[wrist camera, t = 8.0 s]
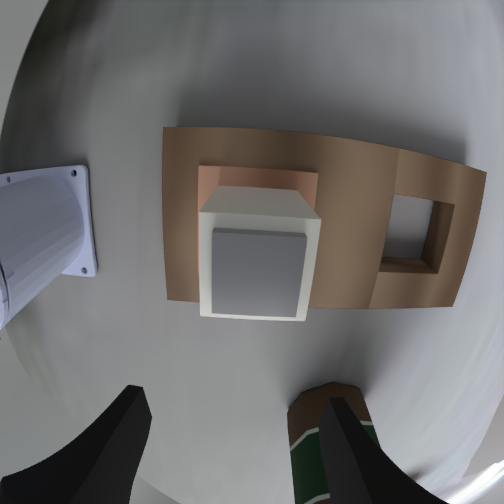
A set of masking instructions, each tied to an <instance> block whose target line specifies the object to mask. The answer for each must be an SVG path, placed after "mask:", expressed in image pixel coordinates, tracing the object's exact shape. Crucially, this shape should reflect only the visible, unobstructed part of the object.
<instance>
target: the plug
mask: <svg viewBox="0 0 504 504" xmlns="http://www.w3.org/2000/svg"><path fill="white" fill-rule="evenodd" d="M320 226H321V219H320V217H319V216H318V215H317V214H316V212H315V211H314V210H313V209H312V207H311V206H310V205H309V204H308V203H307V201H306V200H305V199H304V198H303V197H302V195H301V194H300V193H299V192H298V191H297V190H286V189H273V188H258V187H240V186H219V185H218V186H217V187H216V189H215V190H214V192H213V193H212V194H211V196H210V197H209V199H208V200H207V201H206V203H205V204H204V206H203V207H202V209H201V210H200V211H199V290H200V316H208V317H222V318H238V319H257V320H281V321H305V320H306V314H307V309H308V303H309V298H310V292H311V286H312V280H313V274H314V267H315V261H316V254H317V248H318V241H319V234H320Z"/></svg>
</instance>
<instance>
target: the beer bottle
mask: <svg viewBox="0 0 504 504" xmlns="http://www.w3.org/2000/svg"><path fill="white" fill-rule="evenodd" d="M333 397H344V398H345V399H346V400H347V402H348V404H349V405H350V407H351V408H352V410H353V411H354V413H355V414H356V416H357V417H358V419H359V420H360V422H361V423H362V425H363V426H364V427H365V429H366V430H367V431H368V433H369V434H370V435H371V437H372V438H373V439H374V441H375V442H376V443H377V444H378V446H379V447H380V444H379V441H378V438H377V435H376V432H375V429H374V426H373V423H372V420H371V417H370V414H369V411H368V409H367V406H366V403H365V401H364V398H363V396H362V394H361V392H360V389H359V388H357V387H354V386H349V385H343V384H338V383H333V382H332V383H329V384H326V385H323V386H320V387H317V388H314V389H311V390H308V391H305V392H303V393H302V394H301V395H300V396H299V398H298V399H297V400H296V401H295V403H294V404H293V405H292V406H291V408H290V409H289V410H288V412H287V420H288V435H289V445H290V455H291V465H292V475H293V486H294V496H295V504H331V503H330V495H329V489H328V484H327V479H326V474H325V470H324V465H323V460H322V455H321V450H320V441H319V428H318V426H319V424H320V421H321V418H322V415H323V413H324V410H325V407H326V404H327V401H328V398H333ZM380 448H381V447H380Z"/></svg>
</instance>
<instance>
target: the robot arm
mask: <svg viewBox="0 0 504 504" xmlns="http://www.w3.org/2000/svg"><path fill="white" fill-rule="evenodd" d="M74 170H76V172H77V175H76V176H75V175H74ZM10 179H11V180H10ZM84 268H86V269H87V271H85V269H84ZM97 272H98V269H97V262H96V256H95V248H94V240H93V232H92V222H91V211H90V198H89V181H88V169H87V167H86V166H85V165H73V166H62V167H52V168H43V169H34V170H26V171H19V172H12V173H5V174H1V175H0V331H1V329H2V328H3V326H4V325H6V324H7V323H8V322H9V321H10V320H11V319H12V318H13V317H14V316H15V315H16V314H17V313H18V312H19V311H20V310H21V309H22V308H23V307H24V306H25V305H26V304H27V303H28V302H29V301H30V300H31V299H33V298H34V297H35V296H36V295H37V294H38V293H39V292H40V291H41V290H42V289H43V288H45V287H46V286H47V285H48V284H49V283H50V282H51V281H52V280H54V279H55V278H56V277H57V276H58V275H59V274H68V275H77V276H86V277H94V276H95V275H96V274H97ZM0 340H1V338H0ZM151 420H152V415H151V412H150V409H149V406H148V403H147V400H146V396H145V393H144V390H143V387H139V386H134V385H128V386H126V388H125V389H124V390H123V391H122V392H121V393H120V394H119V395H118V397H117V398H116V399H115V400H114V401H113V402H112V403H111V404H110V405H109V407H108V408H107V409H106V410H105V411H104V412H103V413H102V414H101V415H100V416H99V417H98V418H97V419H96V420H95V421H94V422H93V423H92V424H91V425H90V426H89V427H88V428H86V429H85V430H84V431H83V432H82V433H81V434H80V435H79V436H78V437H76V438H75V439H74V440H73V441H71V442H70V443H69V444H68V445H66V446H65V447H63V448H62V449H61V450H59V451H58V452H56V453H54V454H53V455H51V456H50V457H48V458H47V459H45V460H43V461H41V462H39V463H37V464H35V465H33V466H31V467H29V468H27V469H24V470H22V471H19V472H16V473H14V474H11V475H8V476H5V477H3V478H2V480H1V481H0V504H129V500H130V495H131V489H132V485H133V481H134V478H135V475H136V472H137V469H138V466H139V463H140V460H141V457H142V454H143V451H144V448H145V445H146V442H147V439H148V435H149V430H150V425H151ZM318 428H319V441H320V450H321V455H322V460H323V465H324V470H325V474H326V479H327V484H328V489H329V495H330V503H331V504H449V503H447V502H445V501H443V500H441V499H439V498H438V497H436V496H435V495H433V494H431V493H430V492H428V491H427V490H425V489H424V488H423V487H421V486H420V485H419V484H417V483H416V482H415V481H413V480H412V479H411V478H410V477H409V476H407V475H406V474H405V473H404V472H403V471H402V470H401V469H400V468H399V467H398V466H397V465H395V464H394V462H393V461H392V460H391V459H390V458H389V457H388V456H387V455H386V454H385V453H384V452H383V450H382V449H381V448H380V447H379V446H378V444H377V443H376V442H375V441H374V439H373V438H372V437H371V435H370V434H369V433H368V431H367V430H366V429H365V427H364V426H363V425H362V423H361V422H360V420H359V419H358V417H357V416H356V414H355V413H354V411H353V410H352V408H351V407H350V405H349V404H348V402H347V400H346V399H345V398H344V397H333V398H328V401H327V404H326V407H325V410H324V413H323V415H322V418H321V421H320V424H319V426H318Z"/></svg>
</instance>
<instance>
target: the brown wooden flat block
mask: <svg viewBox="0 0 504 504" xmlns="http://www.w3.org/2000/svg"><path fill="white" fill-rule="evenodd" d="M486 174H487V172H484V171H481V170H478V169H475V168H472V167H469V166H466V165H462V164H459V163H455V162H452V161H448V160H445V159H441V158H437V157H434V156H430V155H426V154H422V153H418V152H413V151H409V150H405V149H400V148H395V147H391V146H386V145H381V144H375V143H370V142H364V141H359V140H353V139H346V138H340V137H333V136H326V135H318V134H310V133H301V132H291V131H280V130H267V129H252V128H230V127H163V152H162V208H163V239H164V259H165V274H166V288H167V300H175V301H187V302H200V290H199V211H200V210H201V209H202V207H203V206H204V204H205V203H206V201H207V200H208V199H209V197H210V196H211V194H212V193H213V192H214V190H215V189H216V187H217V186H218V185H219V186H240V187H258V188H273V189H286V190H297V191H298V192H299V193H300V194H301V195H302V197H303V198H304V199H305V200H306V201H307V203H308V204H309V205H310V206H311V207H312V209H313V210H314V211H315V212H316V214H317V215H318V216H319V217H320V219H321V226H320V234H319V241H318V248H317V254H316V261H315V267H314V274H313V280H312V286H311V292H310V298H309V303H308V308H339V309H385V308H429V307H453V304H454V301H455V299H456V296H457V293H458V290H459V287H460V284H461V281H462V278H463V275H464V272H465V269H466V266H467V262H468V259H469V255H470V252H471V248H472V244H473V240H474V236H475V232H476V228H477V224H478V219H479V215H480V210H481V205H482V199H483V193H484V187H485V181H486ZM394 194H399V195H405V196H411V197H417V198H423V199H429V200H434V204H433V209H432V214H431V219H430V224H429V229H428V233H427V238H426V242H425V246H424V250H423V254H422V258H421V259H405V258H388V257H382V253H383V249H384V244H385V239H386V234H387V229H388V224H389V218H390V213H391V207H392V201H393V195H394Z"/></svg>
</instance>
